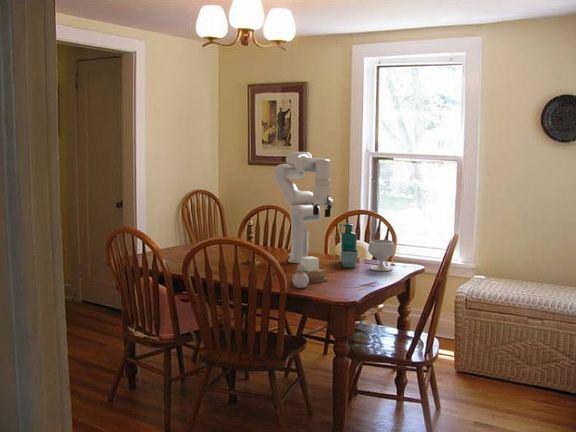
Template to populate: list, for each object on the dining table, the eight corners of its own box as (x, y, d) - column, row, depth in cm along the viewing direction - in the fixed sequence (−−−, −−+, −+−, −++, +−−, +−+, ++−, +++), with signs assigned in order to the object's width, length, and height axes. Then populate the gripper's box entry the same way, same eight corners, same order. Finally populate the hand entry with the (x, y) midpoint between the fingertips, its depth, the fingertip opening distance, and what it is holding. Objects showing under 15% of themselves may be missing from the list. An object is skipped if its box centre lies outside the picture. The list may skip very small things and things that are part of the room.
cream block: (301, 269, 297) (301, 257, 296) (311, 268, 301) (311, 256, 300) (308, 271, 292) (308, 259, 292) (318, 270, 296) (318, 258, 295)
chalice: (386, 266, 334) (387, 238, 332) (399, 271, 321) (400, 242, 319) (363, 267, 330) (363, 239, 328) (374, 272, 316) (375, 243, 315)
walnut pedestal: (292, 279, 298) (292, 269, 298) (311, 276, 305) (312, 266, 305) (307, 284, 289) (307, 273, 288) (327, 281, 295) (327, 270, 295)
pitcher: (355, 261, 347) (356, 222, 345) (356, 264, 339) (357, 224, 336) (337, 260, 347) (338, 222, 345) (338, 263, 339) (339, 224, 336)
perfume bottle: (304, 285, 286) (304, 259, 285) (313, 289, 278) (314, 263, 276) (289, 286, 283) (289, 260, 282) (298, 291, 275) (299, 264, 273)
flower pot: (356, 268, 326) (357, 252, 325) (340, 268, 327) (340, 251, 326) (358, 265, 334) (358, 249, 333) (341, 264, 336) (342, 248, 335)
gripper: (306, 182, 322) (305, 214, 324) (327, 184, 308) (326, 218, 310) (317, 181, 326) (317, 213, 328) (338, 183, 312) (337, 217, 314)
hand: (321, 215), depth 319 cm, fingers open, 9 cm apart
